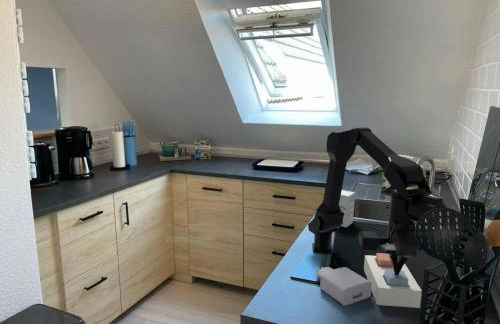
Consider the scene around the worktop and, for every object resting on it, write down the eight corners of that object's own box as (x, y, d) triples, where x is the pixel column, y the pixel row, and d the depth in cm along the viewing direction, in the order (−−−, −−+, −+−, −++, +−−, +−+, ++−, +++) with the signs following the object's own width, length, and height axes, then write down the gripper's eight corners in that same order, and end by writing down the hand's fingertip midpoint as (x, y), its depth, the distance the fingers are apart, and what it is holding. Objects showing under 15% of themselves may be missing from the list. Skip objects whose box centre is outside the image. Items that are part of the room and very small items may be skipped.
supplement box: (328, 224, 148) (330, 192, 145) (335, 218, 154) (337, 188, 151) (346, 228, 144) (348, 196, 141) (353, 222, 150) (355, 191, 147)
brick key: (375, 267, 108) (376, 253, 107) (391, 268, 108) (393, 254, 107) (378, 275, 104) (380, 260, 103) (396, 276, 103) (397, 261, 102)
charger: (331, 272, 109) (370, 297, 96) (305, 279, 105) (342, 307, 92) (332, 257, 108) (372, 280, 95) (306, 263, 104) (344, 289, 91)
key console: (363, 269, 111) (364, 255, 110) (399, 272, 109) (400, 257, 109) (377, 304, 93) (378, 287, 92) (419, 307, 92) (421, 290, 91)
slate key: (383, 285, 98) (384, 269, 97) (401, 286, 98) (403, 270, 97) (387, 294, 94) (388, 278, 93) (406, 296, 93) (408, 279, 92)
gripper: (368, 224, 85) (363, 288, 88) (456, 229, 83) (447, 294, 86) (360, 208, 96) (356, 266, 99) (437, 212, 94) (430, 271, 97)
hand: (396, 274), depth 95 cm, fingers closed, pressing on slate key
